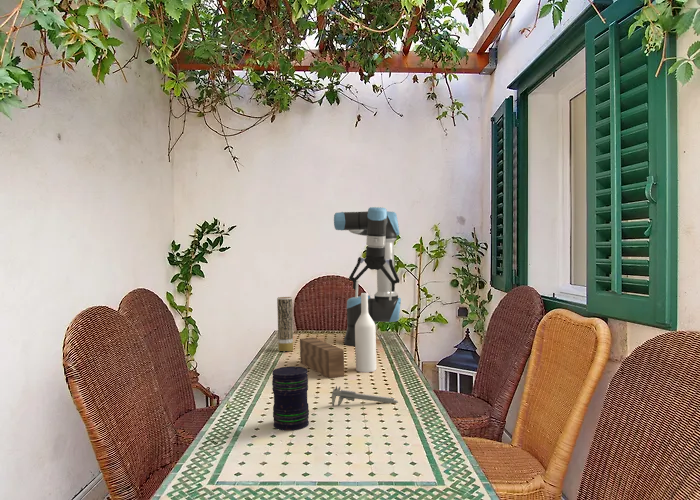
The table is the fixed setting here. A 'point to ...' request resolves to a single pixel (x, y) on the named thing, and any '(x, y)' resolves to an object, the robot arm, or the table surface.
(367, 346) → the bottle
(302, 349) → the wooden block
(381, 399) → the caliper
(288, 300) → the paper tube
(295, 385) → the storage jar
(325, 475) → the table surface
